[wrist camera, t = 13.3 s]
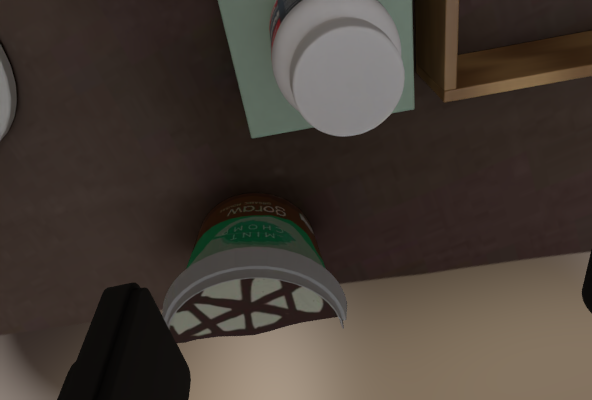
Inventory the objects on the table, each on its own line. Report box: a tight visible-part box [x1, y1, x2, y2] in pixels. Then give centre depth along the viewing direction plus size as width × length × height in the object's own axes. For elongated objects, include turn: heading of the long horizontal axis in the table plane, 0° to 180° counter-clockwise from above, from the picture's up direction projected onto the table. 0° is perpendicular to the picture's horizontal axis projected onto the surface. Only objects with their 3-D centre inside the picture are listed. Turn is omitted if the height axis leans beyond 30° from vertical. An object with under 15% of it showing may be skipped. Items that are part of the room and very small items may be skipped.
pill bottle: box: [269, 0, 405, 136], centre depth 19 cm, size 5×5×9 cm
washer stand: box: [218, 0, 415, 138], centre depth 25 cm, size 10×11×5 cm
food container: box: [162, 193, 347, 343], centre depth 31 cm, size 12×6×10 cm, turn 99°
